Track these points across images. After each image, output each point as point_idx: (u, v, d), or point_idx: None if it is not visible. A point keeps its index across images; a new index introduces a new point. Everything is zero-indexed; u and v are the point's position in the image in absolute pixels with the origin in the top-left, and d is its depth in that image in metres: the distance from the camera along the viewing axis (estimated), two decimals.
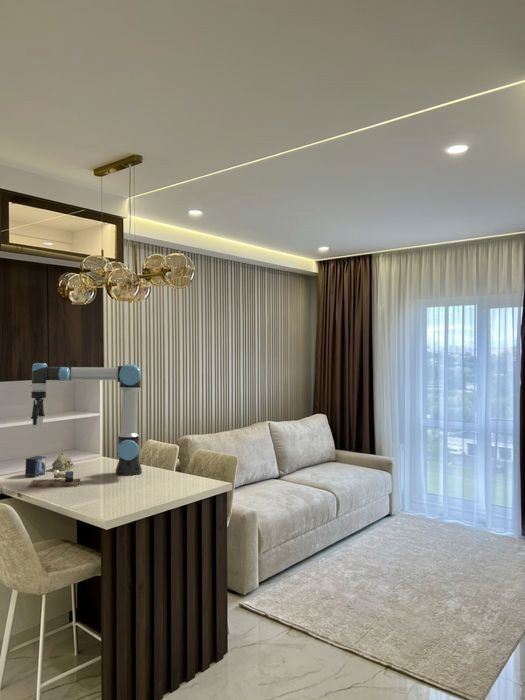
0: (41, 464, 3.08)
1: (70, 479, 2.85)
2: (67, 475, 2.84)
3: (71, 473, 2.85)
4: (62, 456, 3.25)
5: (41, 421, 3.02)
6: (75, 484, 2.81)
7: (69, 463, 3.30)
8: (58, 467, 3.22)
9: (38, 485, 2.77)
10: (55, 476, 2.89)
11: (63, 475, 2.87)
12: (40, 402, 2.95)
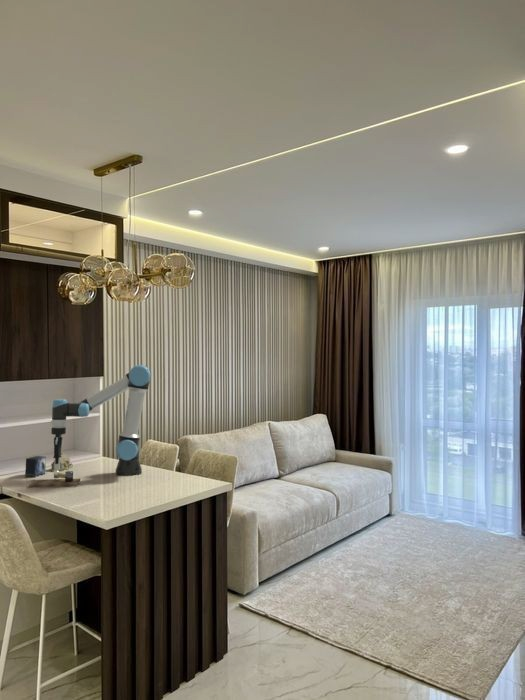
0: (41, 464, 3.08)
1: (70, 479, 2.85)
2: (67, 475, 2.84)
3: (71, 473, 2.85)
4: None
5: None
6: (75, 484, 2.81)
7: (68, 463, 3.30)
8: None
9: (38, 485, 2.77)
10: (55, 476, 2.89)
11: (63, 475, 2.87)
12: (60, 439, 2.97)
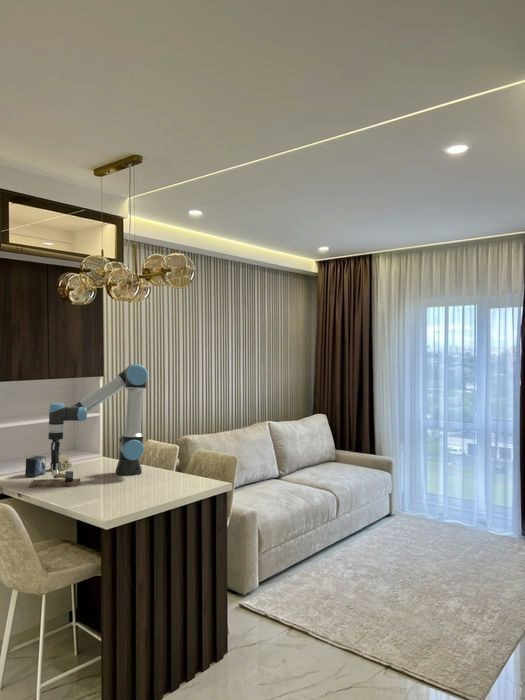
0: (41, 464, 3.08)
1: (70, 479, 2.85)
2: (67, 475, 2.84)
3: (71, 473, 2.85)
4: (60, 456, 3.25)
5: None
6: (75, 484, 2.81)
7: (67, 463, 3.29)
8: None
9: (38, 485, 2.77)
10: (55, 476, 2.88)
11: (63, 475, 2.87)
12: (57, 444, 2.90)
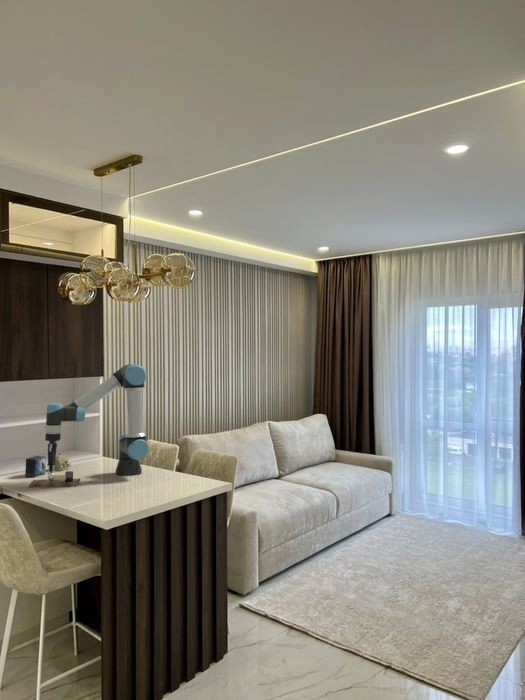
0: (41, 464, 3.08)
1: (72, 478, 2.86)
2: (70, 475, 2.85)
3: None
4: (60, 456, 3.25)
5: None
6: (75, 484, 2.81)
7: (66, 463, 3.29)
8: (56, 467, 3.22)
9: (38, 485, 2.77)
10: (52, 479, 2.81)
11: (63, 476, 2.84)
12: (54, 446, 2.83)
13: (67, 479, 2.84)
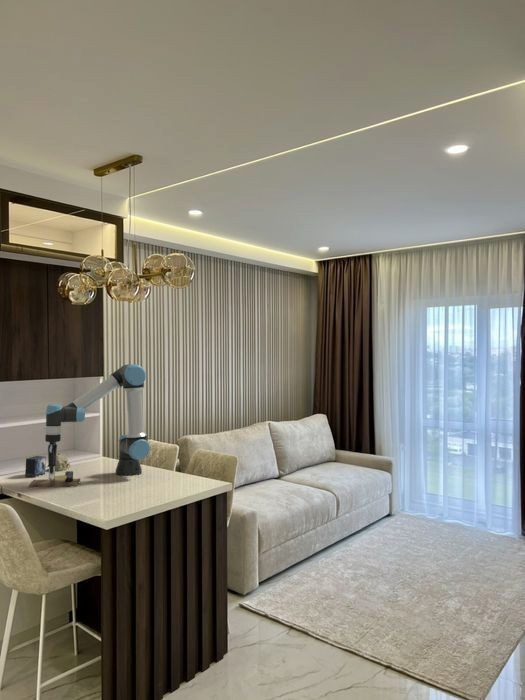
0: (41, 464, 3.08)
1: (72, 478, 2.87)
2: (71, 475, 2.85)
3: None
4: (59, 456, 3.25)
5: None
6: (75, 484, 2.81)
7: (66, 463, 3.29)
8: (56, 467, 3.21)
9: (38, 485, 2.77)
10: (54, 479, 2.80)
11: (63, 476, 2.83)
12: (54, 447, 2.81)
13: (68, 479, 2.84)
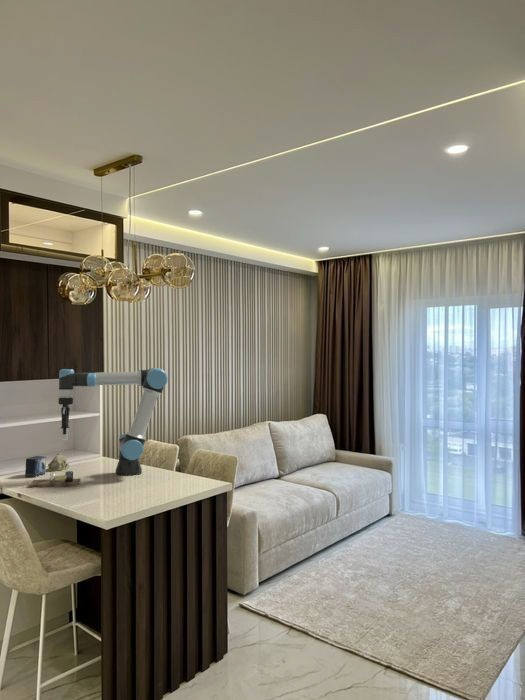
0: (41, 464, 3.08)
1: (72, 478, 2.87)
2: (71, 475, 2.85)
3: None
4: (58, 456, 3.24)
5: None
6: (75, 484, 2.81)
7: (64, 463, 3.29)
8: (55, 467, 3.21)
9: (38, 485, 2.77)
10: (54, 479, 2.80)
11: (63, 476, 2.83)
12: (67, 409, 2.93)
13: (68, 479, 2.84)
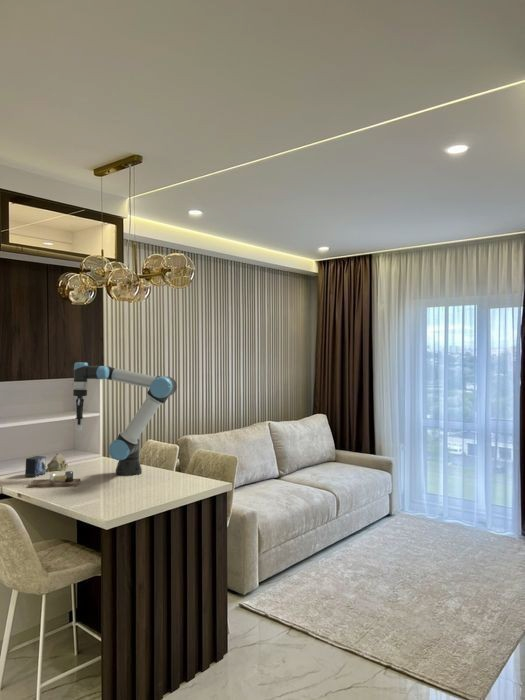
0: (41, 464, 3.08)
1: (72, 478, 2.87)
2: (71, 475, 2.85)
3: None
4: (57, 456, 3.24)
5: None
6: (75, 484, 2.81)
7: (64, 463, 3.29)
8: (54, 467, 3.21)
9: (38, 485, 2.77)
10: (54, 479, 2.80)
11: (63, 476, 2.83)
12: (82, 400, 3.06)
13: (68, 479, 2.84)
